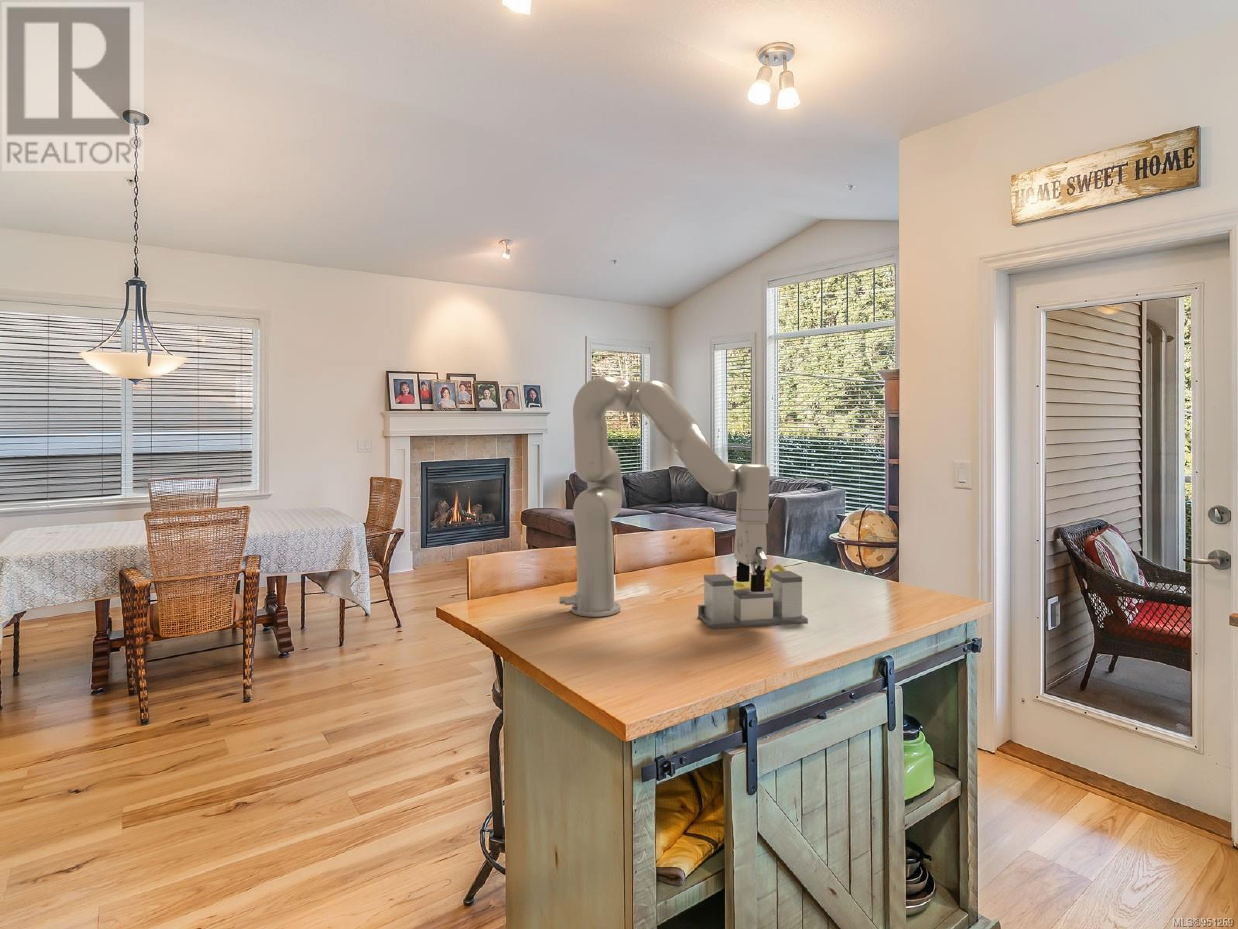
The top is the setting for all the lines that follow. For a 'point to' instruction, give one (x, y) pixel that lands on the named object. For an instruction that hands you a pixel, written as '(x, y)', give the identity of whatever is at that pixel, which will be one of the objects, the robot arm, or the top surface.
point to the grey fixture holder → (722, 601)
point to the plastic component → (767, 579)
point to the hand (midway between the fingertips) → (749, 586)
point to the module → (753, 604)
